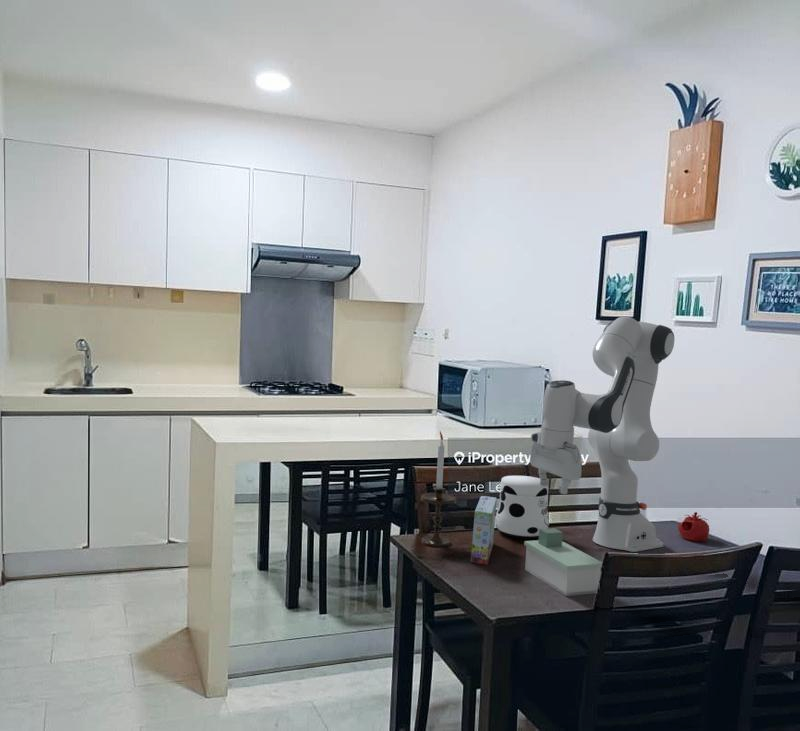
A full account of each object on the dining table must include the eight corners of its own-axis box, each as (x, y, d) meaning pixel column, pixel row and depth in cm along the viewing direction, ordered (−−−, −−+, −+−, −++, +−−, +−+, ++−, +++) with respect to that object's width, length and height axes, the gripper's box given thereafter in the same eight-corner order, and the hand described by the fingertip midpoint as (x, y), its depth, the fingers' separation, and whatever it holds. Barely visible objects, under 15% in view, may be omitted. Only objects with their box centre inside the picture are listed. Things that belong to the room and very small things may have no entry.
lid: (557, 544, 199) (558, 525, 199) (603, 569, 180) (604, 547, 179) (523, 546, 195) (525, 527, 195) (566, 572, 176) (568, 550, 176)
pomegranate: (703, 536, 240) (705, 509, 240) (713, 544, 230) (715, 516, 230) (673, 533, 241) (676, 506, 241) (682, 541, 231) (684, 513, 231)
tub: (555, 567, 199) (557, 543, 199) (598, 593, 180) (600, 566, 180) (525, 569, 195) (526, 545, 195) (565, 596, 177) (567, 569, 176)
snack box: (489, 565, 198) (492, 513, 197) (469, 563, 199) (472, 511, 198) (494, 543, 218) (497, 496, 218) (476, 541, 220) (479, 494, 219)
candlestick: (411, 542, 215) (417, 430, 213) (430, 535, 224) (436, 427, 222) (442, 550, 209) (448, 434, 207) (460, 542, 218) (466, 431, 216)
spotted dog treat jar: (559, 539, 227) (562, 484, 226) (516, 544, 219) (519, 487, 218) (525, 524, 242) (528, 473, 241) (484, 529, 234) (487, 476, 233)
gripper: (589, 446, 183) (585, 498, 184) (546, 434, 202) (543, 481, 203) (568, 446, 181) (565, 498, 181) (527, 433, 200) (524, 481, 200)
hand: (553, 489), depth 192 cm, fingers open, 8 cm apart
